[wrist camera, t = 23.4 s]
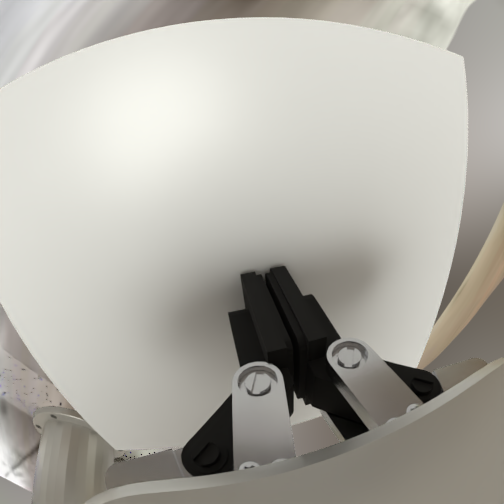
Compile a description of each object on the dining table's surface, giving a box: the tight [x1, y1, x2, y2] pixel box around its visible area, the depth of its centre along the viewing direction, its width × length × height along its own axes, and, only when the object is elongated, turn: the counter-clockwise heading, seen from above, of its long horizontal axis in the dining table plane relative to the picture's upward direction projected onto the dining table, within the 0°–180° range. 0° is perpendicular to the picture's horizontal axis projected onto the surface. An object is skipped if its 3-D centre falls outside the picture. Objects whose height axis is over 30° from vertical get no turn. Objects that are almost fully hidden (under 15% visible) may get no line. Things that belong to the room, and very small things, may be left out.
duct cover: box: [0, 17, 468, 450], centre depth 12 cm, size 21×22×1 cm
